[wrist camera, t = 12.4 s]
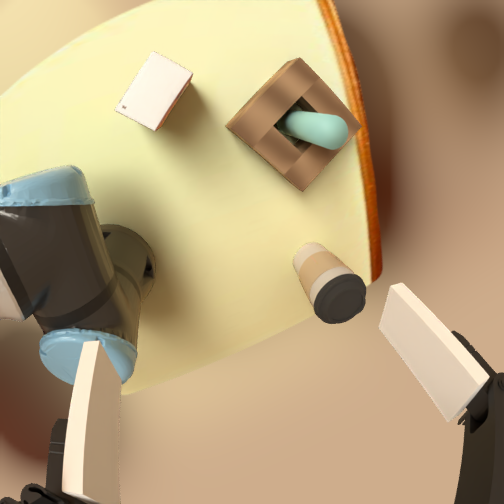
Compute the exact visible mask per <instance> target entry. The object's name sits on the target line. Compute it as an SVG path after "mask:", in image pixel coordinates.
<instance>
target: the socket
mask: <svg viewBox="0 0 504 504" xmlns="http://www.w3.org/2000/svg"><path fill="white" fill-rule="evenodd" d="M295 102H296V103H297V104H298V105H299V106H300V107H301V108H302V109H303V111H305V112H314V113H322V114H330V115H336V116H339V117H341V118H342V119H343V120H344V121H345V122H346V124H347V127H348V138H347V140H346V142H345V143H344V145H345V144H346V143H347V142H348V141H349V140H350V139H351V138H352V137H353V136H354V134H355V133H356V132H357V131H358V130H359V129H360V128H361V127H362V126H361V125H360V123H359V122H358V121H357V120H356V118H355V117H354V116H353V115H352V113H351V112H350V111H349V110H348V109H347V107H346V106H345V105H344V104H343V103H342V102H341V100H340V99H339V98H338V97H337V96H336V95H335V94H334V92H333V91H332V90H331V89H330V88H329V87H328V86H327V85H326V84H325V82H324V81H323V80H322V79H321V78H320V77H319V76H318V75H317V74H316V73H315V72H314V71H313V70H312V69H311V68H310V67H309V66H308V65H307V64H306V63H305V62H304V61H303V60H302V59H301V58H297V59H294V60H291V61H288V62H287V63H286V64H285V65H283V66H282V67H281V68H280V69H279V70H278V71H277V72H276V73H275V74H274V75H273V76H272V77H271V78H270V79H269V80H268V81H267V82H266V83H265V84H264V85H263V86H262V87H261V88H260V89H259V90H258V91H257V92H256V93H255V94H254V96H253V97H252V98H251V99H250V100H249V101H248V102H247V103H246V104H245V105H244V106H243V107H242V108H241V109H240V110H239V112H238V113H237V114H236V115H235V116H234V117H233V118H232V119H231V120H230V121H229V123H228V124H227V125H226V127H227V128H228V129H229V130H231V131H232V132H233V133H234V134H235V135H237V136H238V137H239V138H240V139H241V140H243V141H244V142H245V143H246V144H247V145H248V146H250V147H251V148H252V149H253V150H254V151H255V152H257V153H258V154H259V155H260V156H261V157H262V158H264V159H265V160H266V161H267V162H268V163H269V164H270V165H271V166H273V167H274V168H275V169H276V170H277V171H278V172H279V173H280V174H282V175H283V176H284V177H285V178H286V179H287V180H288V181H289V182H290V183H292V184H293V185H294V186H295V187H297V188H298V189H299V190H301V191H302V192H303V191H304V190H305V188H306V187H307V186H308V185H309V184H310V183H311V182H312V181H313V180H314V179H315V177H316V176H317V175H318V174H319V173H320V172H321V171H322V170H323V169H324V167H325V166H326V165H327V164H328V163H329V162H330V161H331V160H332V159H333V158H334V156H335V155H336V154H337V153H338V152H339V151H340V150H341V149H342V148H343V147H344V145H343V146H341V147H340V148H338V149H334V150H331V149H327V148H324V147H322V146H319V145H316V144H313V143H310V142H307V141H304V140H301V139H299V140H298V141H297V142H296V143H295V144H294V145H293V144H292V143H291V142H290V141H288V140H287V139H286V138H285V137H284V136H283V135H282V134H281V133H280V132H279V131H278V130H277V129H276V128H275V127H274V126H273V125H274V124H275V123H276V122H277V121H278V120H279V119H280V118H281V117H282V116H283V115H284V114H285V112H286V111H287V110H288V109H289V108H290V107H291V106H292V105H293V104H294V103H295Z"/></svg>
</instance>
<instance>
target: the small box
mask: <svg viewBox="0 0 504 504" xmlns="http://www.w3.org/2000/svg"><path fill="white" fill-rule="evenodd" d="M192 76H193V72H191V71H189V70H188V69H186V68H184V67H182V66H181V65H179V64H177V63H175V62H173V61H172V60H170V59H168V58H166V57H164V56H162V55H160V54H158V53H157V52H155V51H152V52H151V54H150V56H149V57H148V59H147V60H146V62H145V63H144V65H143V66H142V68H141V69H140V71H139V72H138V74H137V75H136V77H135V78H134V80H133V81H132V83H131V84H130V86H129V88H128V89H127V91H126V92H125V94H124V96H123V97H122V99H121V100H120V102H119V103H118V105H117V106H116V108H115V111H116V112H118V113H120V114H122V115H124V116H126V117H128V118H130V119H132V120H134V121H136V122H138V123H140V124H142V125H144V126H145V127H147V128H149V129H151V130H153V131H156V130H157V129H159V128H160V127H161V126H162V125H163V123H164V121H165V119H166V118H167V116H168V115H169V113H170V111H171V110H172V108H173V107H174V105H175V104H176V102H177V101H178V99H179V98H180V96H181V95H182V94H183V92H184V91H185V89H186V88H187V86H188V85H189V84H190V81H191V78H192Z"/></svg>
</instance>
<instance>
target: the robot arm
mask: <svg viewBox="0 0 504 504" xmlns="http://www.w3.org/2000/svg"><path fill="white" fill-rule="evenodd" d="M94 203H95V202H94V199H93V198H91V195H90V192H89V189H88V186H87V182H86V179H85V176H84V174H83V172H82V171H81V170H80V169H79V168H78V167H76V166H73V165H66V166H60V167H55V168H51V169H47V170H43V171H39V172H36V173H32V174H29V175H26V176H22V177H19V178H16V179H13V180H10V181H7V182H5V183H2V184H0V320H1V319H11V320H14V321H19V322H23V321H24V320H26V319H27V318H28V317H29V316H30V315H32V314H33V315H34V317H35V319H36V320H37V322H38V324H39V325H40V327H41V329H42V330H43V334H44V335H43V337H42V339H41V340H40V343H39V344H40V351H39V353H40V357H41V360H42V362H43V364H44V365H45V366H46V368H47V369H48V370H49V371H50V372H52V374H54V375H55V376H56V377H58V378H59V379H61V380H63V381H65V382H67V383H69V384H72V385H74V389H73V394H72V399H71V405H70V412H69V418H68V419H57V421H56V423H55V425H54V427H53V428H52V433H51V441H50V442H51V444H50V447H49V452H50V453H49V456H48V465H47V476H46V488H43V487H42V486H40V485H38V484H33V483H31V484H28V485H26V486H25V487H24V488H23V489H22V492H21V501H19V502H18V501H16V500H14V499H12V498H10V497H4V498H3V499H1V500H0V504H121V501H120V484H119V418H120V398H121V385H122V384H124V383H125V382H126V381H127V380H128V379H129V378H130V377H131V376H132V374H133V371H134V366H135V361H136V358H137V338H138V326H139V315H140V305H141V303H142V302H143V300H144V299H145V298H146V296H147V295H148V293H149V292H150V290H151V288H152V286H153V283H154V278H155V259H154V256H153V253H152V251H151V249H150V247H149V246H148V244H147V243H146V242H145V241H144V239H143V238H142V237H140V236H139V235H138V234H137V233H135V232H134V231H132V230H130V229H128V228H126V227H123V226H119V225H111V224H107V225H100V224H99V221H98V218H97V214H96V211H95V207H94ZM378 328H379V329H380V330H381V332H382V333H383V334H384V336H385V337H386V338H387V339H388V341H389V342H390V343H391V345H392V346H393V347H394V349H395V350H396V351H397V353H398V354H399V355H400V356H401V358H402V359H403V361H404V362H405V363H406V364H407V366H408V367H409V368H410V370H411V371H412V373H413V374H414V375H415V377H416V378H417V380H418V381H419V382H420V384H421V385H422V386H423V388H424V389H425V391H426V392H427V393H428V395H429V396H430V398H431V399H432V400H433V402H434V403H435V405H436V406H437V407H438V409H439V410H440V412H441V413H442V415H443V416H444V417H445V419H446V421H447V422H449V421H451V420H452V419H454V418H455V417H456V416H458V415H459V414H460V413H461V412H462V411H463V410H464V408H465V407H466V408H467V411H466V413H464V415H463V416H462V417H461V418H460V419H459V421H458V425H459V424H461V423H462V422H463V421H464V420H465V421H464V423H463V424H462V425H465V432H464V445H463V455H462V463H461V469H460V476H459V482H458V488H457V493H456V497H455V502H454V504H504V373H498V374H497V373H496V372H495V371H494V370H493V369H492V368H491V367H490V366H489V365H488V364H487V362H486V361H485V360H484V359H483V358H482V357H481V355H480V354H479V353H478V352H477V351H475V349H474V348H473V346H472V345H470V343H469V342H468V341H467V340H466V339H465V338H464V337H463V336H462V335H460V334H459V333H457V332H456V331H452V332H450V331H449V330H448V329H447V328H446V327H445V326H444V324H443V323H442V322H441V321H440V320H439V319H438V318H437V317H436V316H435V315H434V314H433V313H432V312H431V311H430V310H429V309H428V308H427V307H426V306H425V305H424V304H423V303H422V302H421V301H420V300H419V299H418V298H417V297H416V296H415V295H414V294H413V293H412V292H411V291H410V290H409V289H408V288H407V287H406V286H405V285H404V284H403V283H399V284H395V285H392V286H390V289H389V293H388V296H387V300H386V304H385V307H384V311H383V314H382V318H381V321H380V324H379V327H378Z"/></svg>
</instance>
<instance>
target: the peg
mask: <svg viewBox="0 0 504 504" xmlns="http://www.w3.org/2000/svg"><path fill="white" fill-rule="evenodd" d="M277 126H278V128H279V130H280V131H281V132H282V133H284V134H286V135H289V136H292V137H295V138H298V139H301V140H304V141H307V142H310V143H313V144H316V145H319V146H322V147H324V148H327V149H331V150H334V149H338V148H340V147H341V146H343V145H344V143H345V142H346V140H347V138H348V127H347V124H346V122H345V121H344V120H343V119H342V118H341V117H339V116H336V115H330V114H322V113H314V112H305V111H295V110H287V111H286V112H285V114H284V115H283V116H282V117H281V118H280V119H279V120H278V121H277Z"/></svg>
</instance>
